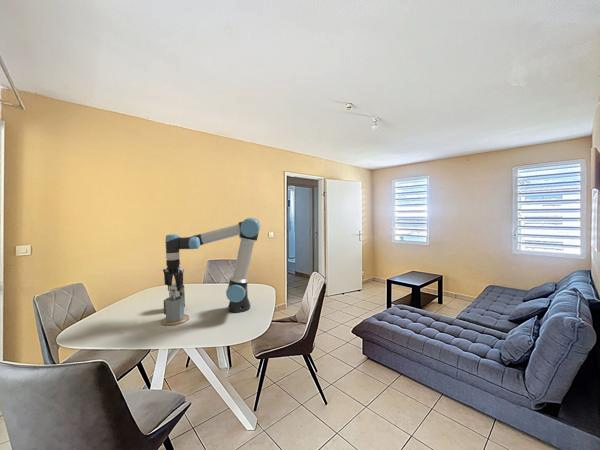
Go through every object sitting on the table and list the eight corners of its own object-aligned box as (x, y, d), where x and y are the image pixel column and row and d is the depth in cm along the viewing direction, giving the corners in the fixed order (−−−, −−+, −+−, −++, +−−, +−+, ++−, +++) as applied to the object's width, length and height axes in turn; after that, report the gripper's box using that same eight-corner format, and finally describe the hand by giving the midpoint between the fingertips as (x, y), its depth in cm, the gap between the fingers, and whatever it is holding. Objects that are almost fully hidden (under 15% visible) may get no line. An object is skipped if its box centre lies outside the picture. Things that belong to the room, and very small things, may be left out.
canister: (179, 312, 171) (178, 286, 170) (166, 311, 173) (165, 285, 172) (188, 306, 180) (187, 282, 180) (176, 306, 182) (175, 281, 181)
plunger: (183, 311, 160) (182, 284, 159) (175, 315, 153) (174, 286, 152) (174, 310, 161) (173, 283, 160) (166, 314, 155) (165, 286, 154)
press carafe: (194, 316, 163) (193, 295, 163) (177, 326, 148) (176, 303, 147) (173, 314, 167) (172, 293, 166) (154, 324, 151) (153, 302, 151)
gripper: (188, 258, 157) (190, 295, 158) (165, 257, 161) (167, 293, 162) (180, 260, 150) (182, 298, 151) (156, 259, 154) (158, 297, 155)
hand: (174, 296), depth 157 cm, fingers closed on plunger, 4 cm apart
